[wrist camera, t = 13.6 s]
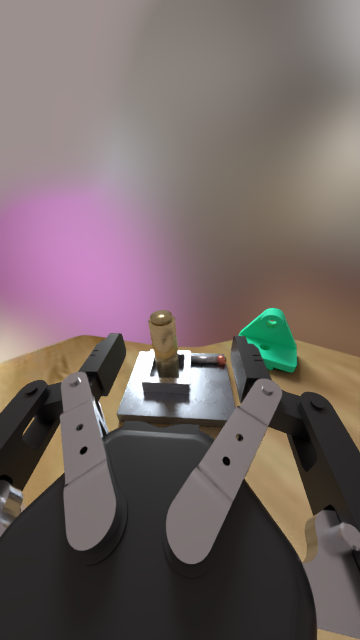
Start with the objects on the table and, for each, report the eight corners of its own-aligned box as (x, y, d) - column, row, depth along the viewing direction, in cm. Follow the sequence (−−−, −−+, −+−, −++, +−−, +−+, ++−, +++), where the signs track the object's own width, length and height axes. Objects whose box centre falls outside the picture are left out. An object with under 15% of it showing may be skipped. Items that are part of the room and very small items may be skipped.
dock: (223, 361, 39) (225, 345, 37) (235, 428, 27) (240, 410, 25) (141, 358, 40) (138, 342, 38) (119, 421, 28) (113, 403, 26)
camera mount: (231, 358, 40) (238, 318, 35) (239, 339, 46) (246, 302, 41) (292, 377, 35) (311, 335, 30) (292, 353, 41) (309, 314, 36)
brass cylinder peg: (180, 366, 35) (175, 308, 28) (179, 383, 32) (173, 322, 25) (159, 366, 35) (150, 309, 29) (156, 383, 32) (144, 323, 25)
